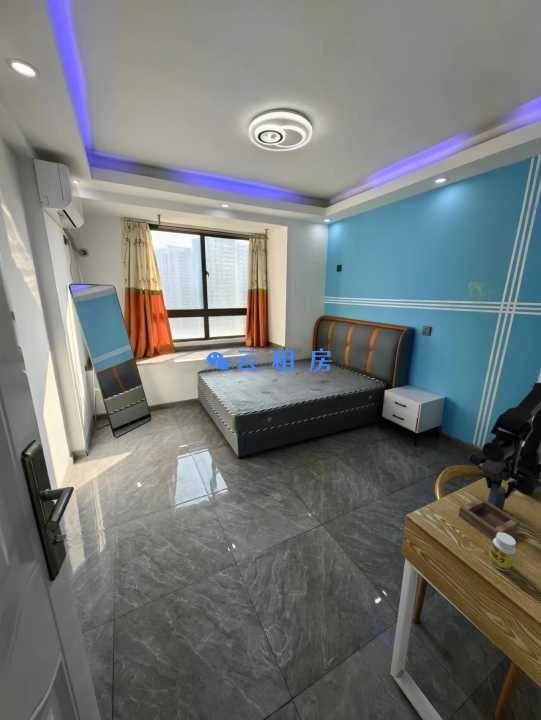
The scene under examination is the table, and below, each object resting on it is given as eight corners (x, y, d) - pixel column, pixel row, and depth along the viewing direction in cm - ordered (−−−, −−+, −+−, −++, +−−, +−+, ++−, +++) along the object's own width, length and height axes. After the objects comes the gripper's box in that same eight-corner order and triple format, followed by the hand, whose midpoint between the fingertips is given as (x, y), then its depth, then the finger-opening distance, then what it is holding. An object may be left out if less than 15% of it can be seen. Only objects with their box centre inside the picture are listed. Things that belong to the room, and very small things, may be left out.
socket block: (480, 505, 98) (481, 497, 97) (517, 529, 88) (519, 521, 87) (458, 515, 94) (459, 507, 93) (495, 542, 84) (497, 533, 83)
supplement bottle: (484, 558, 79) (490, 533, 77) (495, 552, 81) (502, 528, 78) (503, 574, 75) (510, 548, 72) (515, 568, 76) (522, 542, 74)
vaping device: (493, 501, 99) (500, 471, 96) (503, 513, 94) (511, 482, 91) (485, 501, 100) (492, 471, 96) (495, 512, 95) (503, 481, 91)
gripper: (461, 442, 97) (454, 482, 101) (528, 475, 80) (515, 521, 84) (483, 435, 101) (474, 474, 105) (550, 465, 84) (537, 510, 88)
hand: (497, 493), depth 96 cm, fingers closed on vaping device, 5 cm apart
